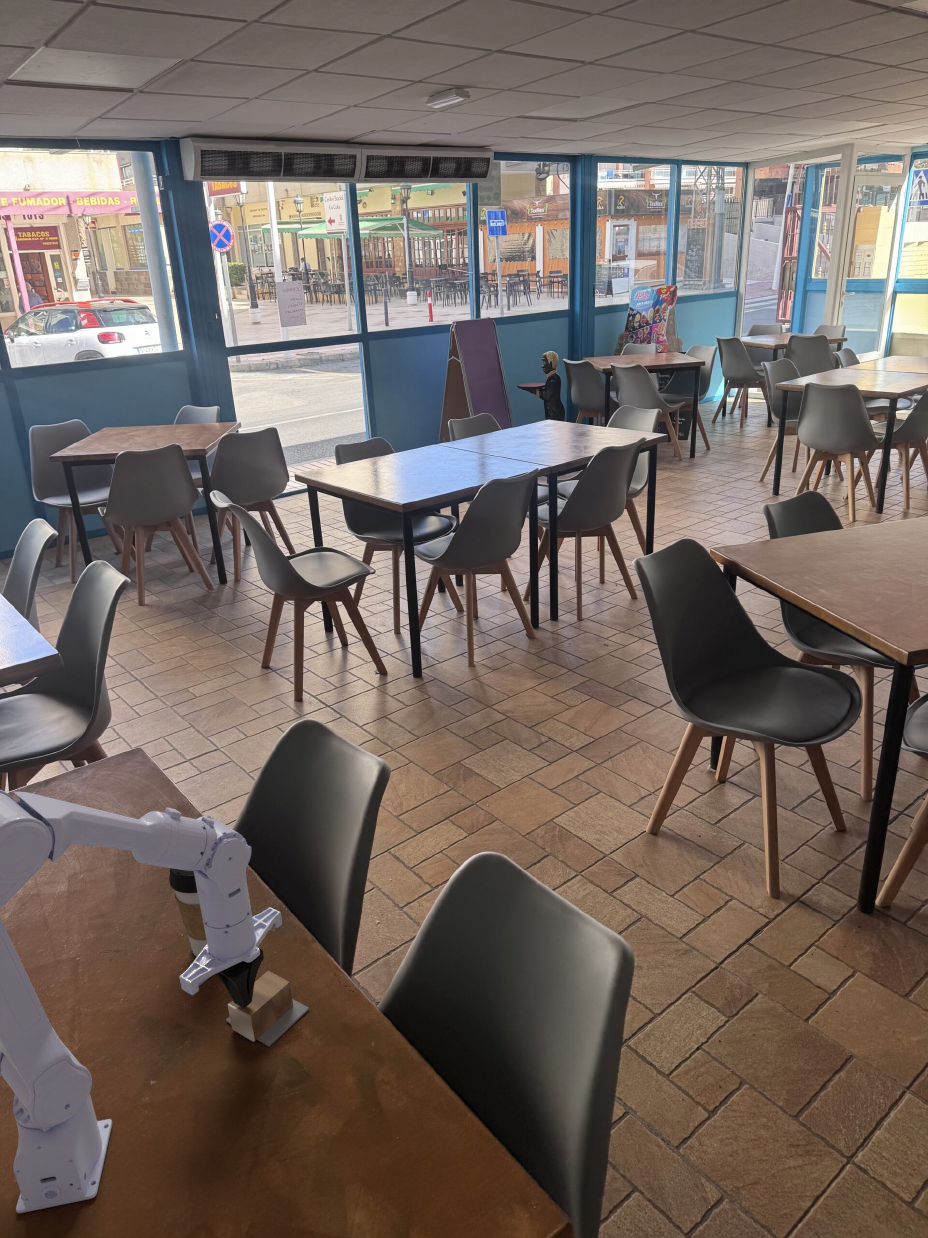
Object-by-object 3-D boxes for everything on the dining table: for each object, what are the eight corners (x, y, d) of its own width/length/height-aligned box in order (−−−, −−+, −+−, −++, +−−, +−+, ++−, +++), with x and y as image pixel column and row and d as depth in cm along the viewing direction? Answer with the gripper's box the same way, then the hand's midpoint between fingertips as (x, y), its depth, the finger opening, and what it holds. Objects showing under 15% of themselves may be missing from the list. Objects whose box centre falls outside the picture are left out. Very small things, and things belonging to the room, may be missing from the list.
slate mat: (269, 1047, 110) (268, 1045, 110) (226, 1021, 114) (225, 1019, 114) (309, 1009, 115) (309, 1007, 115) (266, 986, 120) (266, 985, 120)
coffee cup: (171, 956, 127) (153, 868, 122) (212, 920, 134) (196, 836, 128) (214, 973, 123) (198, 883, 118) (254, 935, 130) (240, 849, 125)
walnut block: (249, 1017, 109) (289, 982, 114) (227, 1004, 111) (268, 970, 116) (253, 1042, 110) (293, 1006, 116) (232, 1029, 112) (272, 994, 118)
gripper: (201, 961, 98) (219, 1055, 103) (293, 890, 109) (306, 978, 114) (161, 939, 102) (180, 1030, 107) (254, 873, 113) (268, 958, 118)
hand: (242, 1002), depth 110 cm, fingers closed
